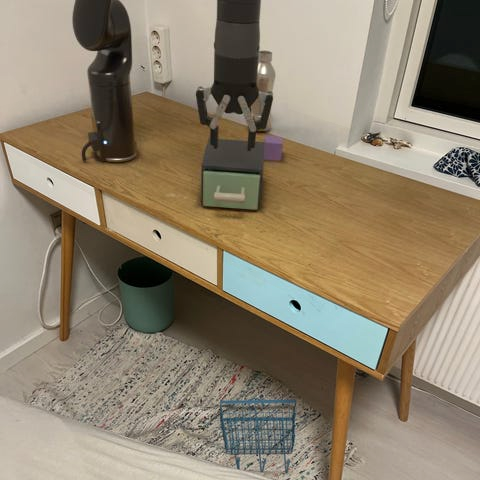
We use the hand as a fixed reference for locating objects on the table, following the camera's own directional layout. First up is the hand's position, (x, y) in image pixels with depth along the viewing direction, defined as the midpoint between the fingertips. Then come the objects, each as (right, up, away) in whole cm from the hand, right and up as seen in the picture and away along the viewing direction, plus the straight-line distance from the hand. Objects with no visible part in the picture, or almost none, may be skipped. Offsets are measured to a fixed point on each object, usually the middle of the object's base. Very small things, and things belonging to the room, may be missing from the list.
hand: (232, 148), depth 95 cm
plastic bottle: (+7, +21, +48) cm, 53 cm away
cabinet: (0, -4, +18) cm, 18 cm away
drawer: (0, -6, +14) cm, 15 cm away
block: (+10, +9, +34) cm, 36 cm away
